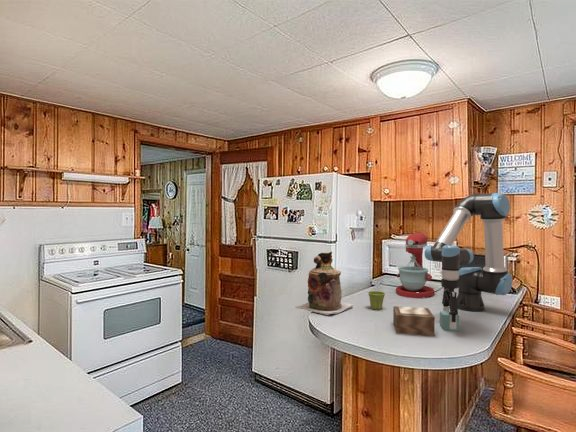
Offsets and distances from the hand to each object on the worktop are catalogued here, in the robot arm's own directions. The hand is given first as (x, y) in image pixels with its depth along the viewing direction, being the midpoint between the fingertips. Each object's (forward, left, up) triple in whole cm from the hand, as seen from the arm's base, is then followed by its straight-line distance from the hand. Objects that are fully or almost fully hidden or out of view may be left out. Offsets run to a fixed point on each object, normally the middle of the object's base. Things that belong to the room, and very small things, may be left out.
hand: (449, 324), depth 173 cm
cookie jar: (+60, -22, -2) cm, 64 cm away
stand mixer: (+5, -75, -2) cm, 75 cm away
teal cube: (0, 0, -2) cm, 2 cm away
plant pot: (+32, -29, -2) cm, 43 cm away
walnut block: (+17, +5, -2) cm, 18 cm away
